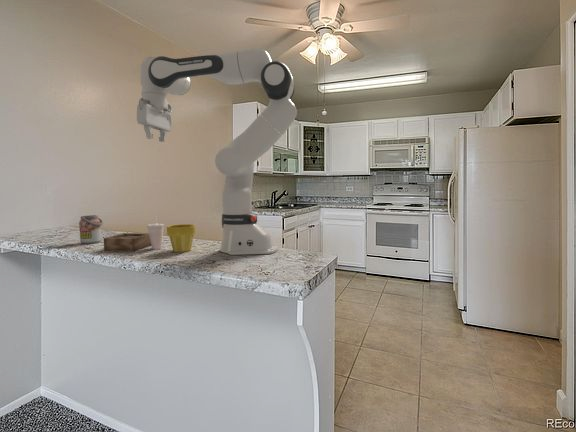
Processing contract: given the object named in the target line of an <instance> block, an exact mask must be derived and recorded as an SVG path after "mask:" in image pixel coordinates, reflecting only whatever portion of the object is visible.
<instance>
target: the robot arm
mask: <svg viewBox="0 0 576 432" xmlns="http://www.w3.org/2000/svg"><path fill="white" fill-rule="evenodd" d="M140 65H141V66H140V85H141V94H140V95H141V96H140V99H138V104H137V106H136V122H137V124H138V125H141V126H143V130H144V132H145V134H146V136H145V137H146V139H148V140H152V139H154V137H153V136H154V134H153V133H152V129H155V130H157V131H159V134H160V135H159V137H158V141H159V142H161V143H165V142H166V135H167V133H168V132H169V133H170V132H171V131H172V128H173V125H172V124H173V119H172V117H173V116H172V114H171V113H173V107H172V106H171V105H170V103H169V102H168V99H167V95H168V94H170V95H174V96H183V95H186V94H187V93H188V92H189V90H190V89H191V84H192V82H191V78H196V77H199V78H200V77H207V78H212V79H214V80H216V81H219V82H221V83H223V84H225V85H230V86H232V85H233V86H238V85H243V84H244V85H245V84H248V83H260V84H261V86H262V87H263V90H264V92H265V94H266V96H267V97H268V99H269V103H268V105H267V106H266V108H265V109H263V111H262V112H261V113H260V114H259V115H258V116H257V117H256V118H255V119H254V120H253V121H252V123H251V124H249V126H248V127H247V128H246V129H245V130H244V131H243V132H242V133H240V134H239V135H238V136H237V137H235V138H234V139H232V141H231V142H230V143H228V144H227V145H226V146H224V147H223V148H220V150H219V151H217V154H216V156H215V158H214V159H215V160H214V161H215V166H216V169H217V170H218V171H219V173H221V174H222V175H223V176H225V181H224V186H223V187H224V188H223V189H222V190H223V191H222V193H221V195H222V214H221V227H222V236H221V238H222V239H221V243H220V248H219V251H220V252H222V253H226V254H228V255H231V256H236V255H237V256H238V255H239V256H240V255H241V256H242V255H269V254H274V253H276V252H277V251H278V249H279V247H278V245H277V244H273V238H272V235H271V233H270V232H269V231H268V230H267V229H265V228H264V227H262V226H261V225H260V224H259V223H258V214H257V215H256V214H254V213H253V207H252V195H253V194H252V193H253V190H252V189H253V181H254V171H255V170H254V169H255V162H256V161H257V160H258V159H259V158H260V157H262V156H263V155H265V154H266V153H268V151H269V150H270V149H271V148H272V147H273V146H274V145H275V144H276V143H277V142H278V141H279V140H280V138H281V137H283V136H284V134H285V133H286V132H287V131H288V129H289V128H290V127H291V125H292V124H293V123H294V121H295V119H296V118H297V115H298V111H297V107H296V105H295V104H294V102H292V100H291V99H292V97H293V96H294V93H295V85H294V83H295V82H294V77H293V76H292V72H291V71H290V69H289V67H288V66H287V65H286V64H285V63H283V62H282V61H278V60H275V61H274V60H273V61H272V58H271V56H270V54H269V53H268V52H267V50H264V49H263V48H262V49H260V48H256V49H255V48H253V49H252V48H251V49H242V50H237V51H233V52H232V51H231V52H224V53H219V54H211V55H196V56H190V57H189V56H188V57H181V58H170V57H167V56H162V55H160V56H157V57H155V56H150V57H146V58H144V59H143V60H142V62H141V64H140Z"/></svg>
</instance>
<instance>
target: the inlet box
mask: <svg viewBox="0 0 576 432" xmlns="http://www.w3.org/2000/svg"><path fill="white" fill-rule="evenodd" d="M102 240H103V251H104V252H138V251H140V250H143V249H145V248H148V247H152V246H151V241H150V235H149V232H148V233H147V232H145V233H144V232H143V233H142V232H140V233H139V232H134V233H133V232H123V233H118V234H115V235H111V236H108V237H107V236H106V237H103V239H102Z"/></svg>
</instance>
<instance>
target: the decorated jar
mask: <svg viewBox="0 0 576 432" xmlns="http://www.w3.org/2000/svg"><path fill="white" fill-rule="evenodd" d="M102 225H104V221H103V220H102V219H101V218H99V215H97V214H96V215H95V214H94V215H93V214H92V215H81V216H80V220H79V222H78V227H79V239H80V241H79V242H80V244H82V245H93V244H99V243H101V241H102V240H103V239H102Z"/></svg>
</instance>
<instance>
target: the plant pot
mask: <svg viewBox="0 0 576 432" xmlns="http://www.w3.org/2000/svg"><path fill="white" fill-rule="evenodd" d="M194 234H196V225H195V224H192V223H191V224H187V223H186V224H185V223H184V224H173V225H172V224H171V225H168V226H166V235H167V236H169V240H170V243H171V244H170V245H171V248H172V251H173V252H174V253H175V252H176V253H183V252H185V253H186V252H190V251H192V245H193V239H194V236H195V235H194Z"/></svg>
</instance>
